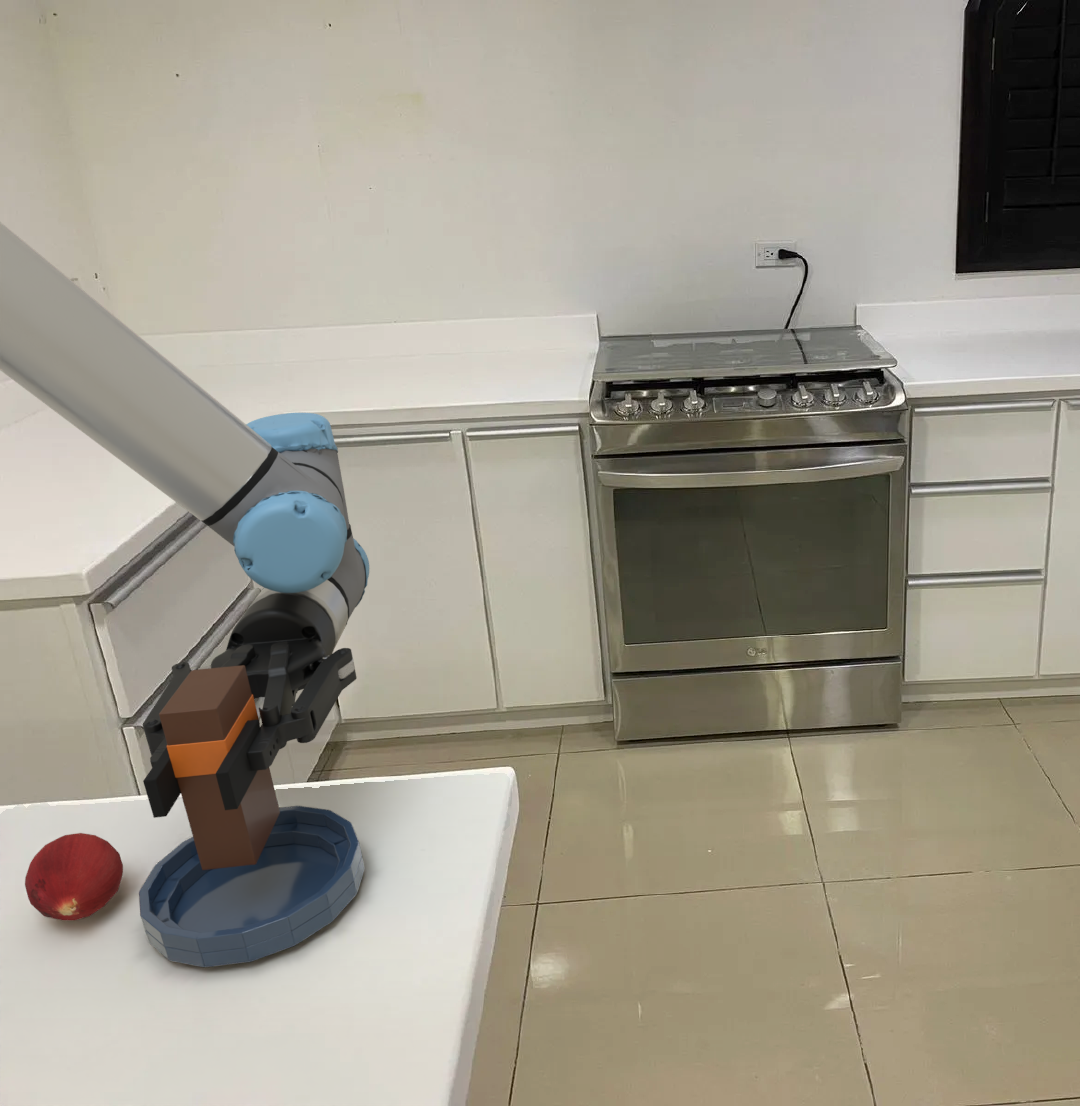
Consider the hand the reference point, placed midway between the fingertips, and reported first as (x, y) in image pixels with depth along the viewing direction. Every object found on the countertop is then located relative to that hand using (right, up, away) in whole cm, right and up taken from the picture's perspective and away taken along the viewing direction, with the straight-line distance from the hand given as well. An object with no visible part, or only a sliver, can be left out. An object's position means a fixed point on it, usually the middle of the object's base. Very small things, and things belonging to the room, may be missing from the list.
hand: (191, 794), depth 67 cm
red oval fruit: (-14, -6, +12) cm, 20 cm away
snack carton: (0, -5, +8) cm, 9 cm away
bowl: (0, -10, +10) cm, 14 cm away
